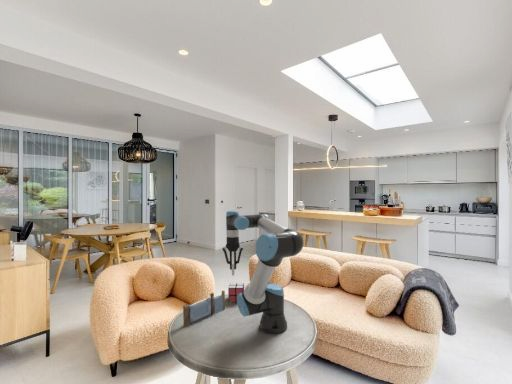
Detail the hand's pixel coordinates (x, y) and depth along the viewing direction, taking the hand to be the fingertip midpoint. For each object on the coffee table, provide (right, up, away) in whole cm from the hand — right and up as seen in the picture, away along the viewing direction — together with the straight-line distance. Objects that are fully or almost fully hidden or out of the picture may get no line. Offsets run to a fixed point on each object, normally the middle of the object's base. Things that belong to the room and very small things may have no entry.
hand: (233, 274), depth 171 cm
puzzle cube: (+1, -24, +22) cm, 33 cm away
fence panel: (-10, -24, +5) cm, 27 cm away
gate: (-19, -24, -6) cm, 31 cm away
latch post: (-25, -25, -13) cm, 38 cm away
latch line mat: (-19, -25, -6) cm, 32 cm away
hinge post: (-13, -25, +1) cm, 28 cm away
